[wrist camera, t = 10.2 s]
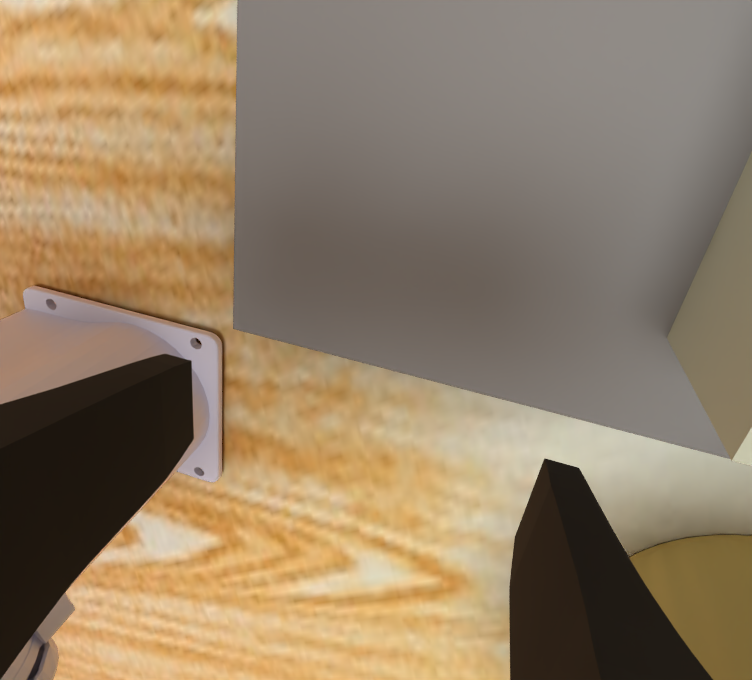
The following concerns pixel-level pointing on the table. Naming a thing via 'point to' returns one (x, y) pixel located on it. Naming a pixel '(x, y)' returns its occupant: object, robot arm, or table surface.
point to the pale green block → (723, 326)
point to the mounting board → (492, 191)
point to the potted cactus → (706, 598)
